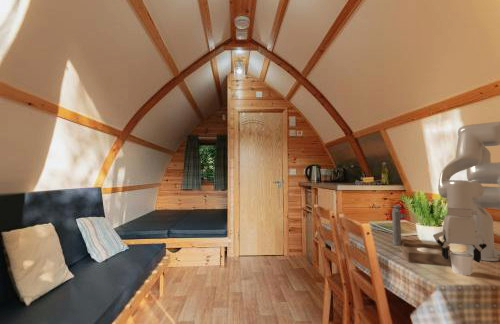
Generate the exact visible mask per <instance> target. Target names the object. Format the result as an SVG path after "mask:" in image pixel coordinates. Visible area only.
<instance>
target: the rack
mask: <svg viewBox="0 0 500 324" xmlns="http://www.w3.org/2000/svg"><path fill="white" fill-rule="evenodd" d="M447 248H448V259H445V258H444V257H443V256H442V247H441V246H440V245H439V244H432V243H417V242H404V241H403V242H402V255H403V257H404V258H405V260H406V261H407V262H408V263H413V264H414V263H415V264H425V265H433V266H434V265H436V266H446V267H452V263H451V256H450V252H453V251H452V250H451V247H450V245H448V246H447Z"/></svg>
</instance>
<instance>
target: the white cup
mask: <svg viewBox="0 0 500 324" xmlns="http://www.w3.org/2000/svg"><path fill="white" fill-rule="evenodd" d="M463 252H464V251H452V252H450V256H451V263H452V266H451V269H452V272H453V273H454V274H456V273H457V274H456V275H459V274H462V275H461V276H465V275H470V276H472V275H473V264H474V263H473V261H474V259H473V255H471V254H468V253H463ZM471 274H472V275H471Z"/></svg>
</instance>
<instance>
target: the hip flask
mask: <svg viewBox="0 0 500 324" xmlns="http://www.w3.org/2000/svg"><path fill="white" fill-rule="evenodd" d="M392 207H393V208H392V210H391V214H392V215H391V216H392V245H394V246H400V245H401V244H402V235H401V234H402V233H401V232H402V230H401V229H402V228H401V227H402V226H401V205H392Z"/></svg>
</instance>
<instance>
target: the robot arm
mask: <svg viewBox="0 0 500 324" xmlns="http://www.w3.org/2000/svg"><path fill="white" fill-rule="evenodd" d="M457 135H458V137H457V145H456V151H455V158H454V159H452V160H451V161H449V162H448V163H447V164H446V165H445V166H444V167H443V168H442V170H441V172H440V174H439V179H438V194H439V196H440V197H442V198H444V199H447V202H446V204H447V215H445V216H444V218H443V219H444V220H443V227H442V231H439V232H437V233H435V234H433V235H432V237H433V238H434V240H435V241H436V243H437V245H440V246H441V247H442V256H443V257H444V258H445V259H448V248H447V246H450V245H452V244H453V245H462V246H463V245H464V246H466V250H465V251H464V250H463V251H462V252H463V253H468V254H471V255H473V261H475V262H477V263H481V261H483V262H484V261H485V262H498V261H500V249H497V248H495V238H494V237H495V236H494V235H495V234H494V219H493V217H492V215H491V214H490V213H489V212H488V211H487V210H486V209H495V210H500V162H496V161H495V162H492V160H491V151H490V150H489V149H488V148H487V147H496V146H500V121H492V122H482V123H474V124H467V125H464V126H461V127H459V128H458V130H457ZM464 170H466V178H467V180H460V179H459V180H457V179H456V180H455V179H451V178H452V177H453V176H454V175H456V174H457V173H459V172H462V171H464ZM482 184H483V185H482ZM485 185H486V186H485ZM487 185H498V186H487ZM440 237H442V240H443V241H441V240H440Z"/></svg>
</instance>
